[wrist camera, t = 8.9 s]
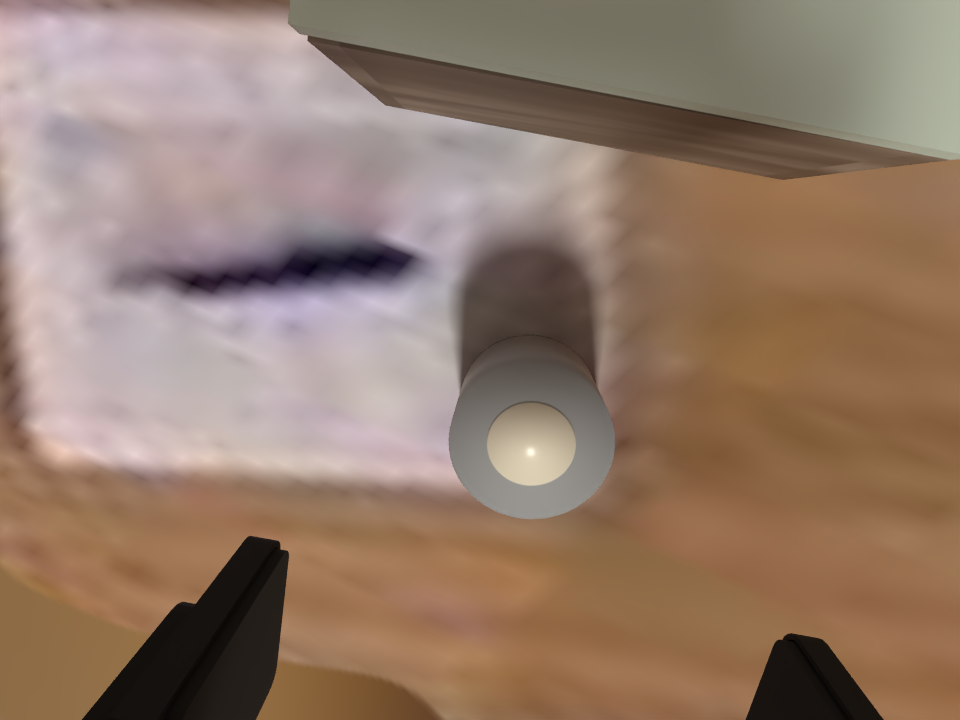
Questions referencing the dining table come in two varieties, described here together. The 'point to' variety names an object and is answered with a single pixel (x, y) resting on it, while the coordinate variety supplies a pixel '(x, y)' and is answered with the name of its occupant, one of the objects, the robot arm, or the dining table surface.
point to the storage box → (603, 117)
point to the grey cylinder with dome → (530, 429)
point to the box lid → (699, 55)
